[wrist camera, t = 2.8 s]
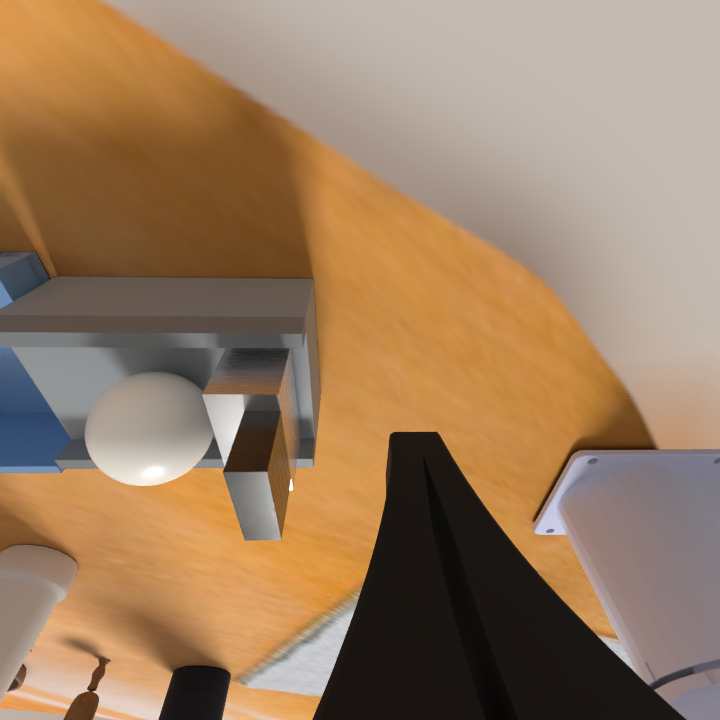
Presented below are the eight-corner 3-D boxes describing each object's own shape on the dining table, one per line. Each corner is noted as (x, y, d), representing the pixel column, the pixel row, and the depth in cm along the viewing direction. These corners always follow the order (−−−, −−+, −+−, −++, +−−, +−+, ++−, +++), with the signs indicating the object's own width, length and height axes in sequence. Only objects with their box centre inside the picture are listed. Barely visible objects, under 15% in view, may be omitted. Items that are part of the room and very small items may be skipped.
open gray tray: (313, 278, 13) (301, 333, 10) (320, 398, 17) (313, 467, 14) (56, 276, 13) (-40, 331, 10) (117, 397, 17) (60, 468, 13)
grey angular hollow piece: (290, 344, 11) (263, 454, 8) (300, 435, 14) (283, 551, 10) (227, 344, 11) (171, 455, 8) (248, 435, 14) (213, 551, 10)
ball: (216, 350, 12) (173, 428, 9) (235, 425, 14) (205, 509, 11) (107, 349, 12) (27, 429, 9) (143, 425, 14) (88, 510, 11)
